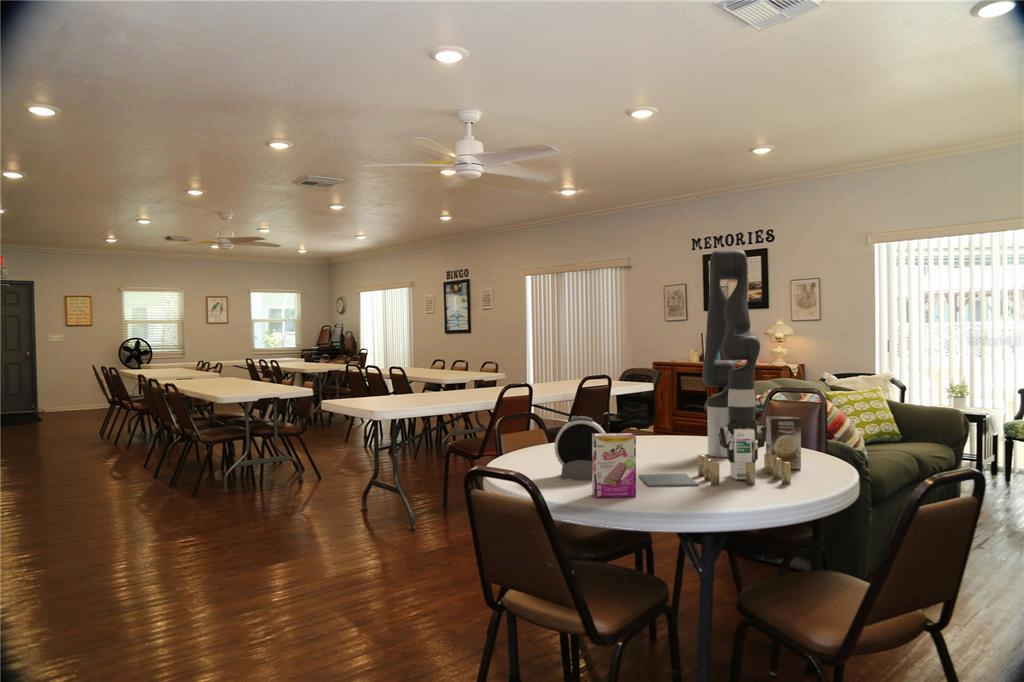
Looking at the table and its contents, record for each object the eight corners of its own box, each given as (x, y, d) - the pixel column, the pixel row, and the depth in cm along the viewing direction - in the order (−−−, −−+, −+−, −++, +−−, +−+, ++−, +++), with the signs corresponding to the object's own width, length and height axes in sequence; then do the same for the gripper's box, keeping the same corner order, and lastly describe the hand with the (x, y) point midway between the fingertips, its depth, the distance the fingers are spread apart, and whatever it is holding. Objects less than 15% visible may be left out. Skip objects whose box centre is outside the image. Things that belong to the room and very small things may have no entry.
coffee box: (771, 470, 209) (770, 418, 209) (765, 466, 216) (764, 416, 215) (801, 470, 208) (801, 418, 208) (795, 466, 215) (794, 416, 215)
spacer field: (697, 474, 204) (696, 455, 204) (771, 473, 204) (770, 453, 204) (712, 486, 189) (711, 464, 189) (792, 484, 189) (791, 463, 189)
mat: (639, 476, 203) (639, 474, 203) (685, 475, 203) (685, 473, 203) (648, 486, 189) (648, 484, 189) (698, 486, 189) (698, 483, 189)
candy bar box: (594, 498, 176) (593, 436, 176) (591, 494, 181) (591, 433, 181) (637, 497, 177) (636, 435, 177) (633, 493, 182) (632, 432, 182)
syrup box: (735, 479, 194) (734, 429, 194) (729, 475, 200) (729, 426, 200) (755, 479, 194) (755, 429, 193) (749, 475, 200) (748, 426, 199)
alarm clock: (554, 480, 200) (553, 418, 200) (557, 473, 210) (556, 414, 210) (609, 480, 198) (608, 418, 198) (609, 473, 208) (608, 414, 208)
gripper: (761, 402, 200) (762, 459, 200) (713, 403, 200) (713, 460, 200) (771, 405, 193) (771, 464, 193) (720, 406, 193) (721, 465, 193)
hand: (742, 461), depth 197 cm, fingers closed on syrup box, 5 cm apart
